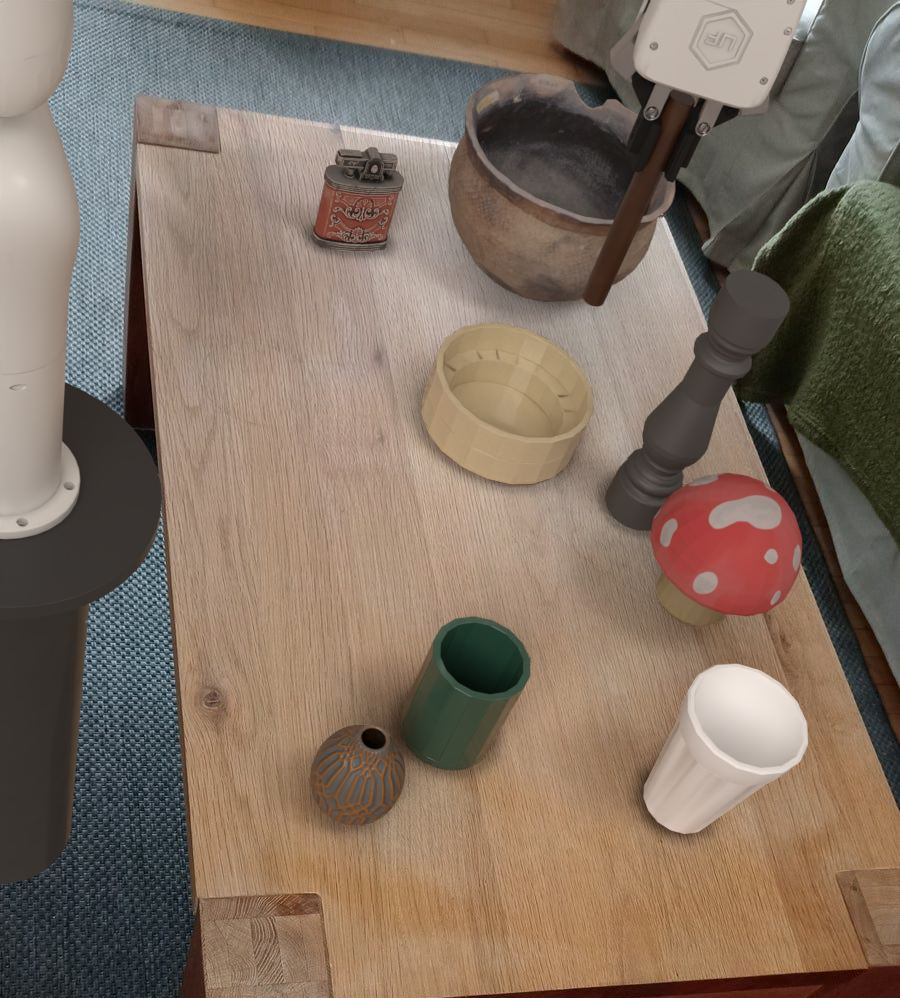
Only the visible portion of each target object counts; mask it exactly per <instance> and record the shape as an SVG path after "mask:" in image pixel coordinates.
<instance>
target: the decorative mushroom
mask: <svg viewBox="0 0 900 998" xmlns="http://www.w3.org/2000/svg"><path fill="white" fill-rule="evenodd" d="M789 505H790V504H788V502H787V501H786V499H785V497H783V496H782V495H781V494H780V493H778V491H776V489H775V488H773V487H772V486H770V485H769V484H767V483H765V482H763V481H762V480H759V479H757V478H754V477H752V476H749V475H746V474H740V473H732V472H722V473H721V472H720V473H715V474H707V475H703V476H700V477H698V478H695V479H693V480H692V481H690V482H688V483H686V484H685V485H682V487H681V488H680V489H678V490H676V491H675V492H674V493H673V494H671V495H670V496H669V497H668V498H667V500H666V501H665V502H664V504H663V505H662V506H661V508H660V509H659V511H658V512H657V514H656V515H655V517H654V518H653V522H652V529H651V530H650V535H649V539H650V543H651V547H652V548H651V549H652V551H653V556H654V559H655V561H656V562H657V564H658V565H659V567H660V569H661V571H662V573H661V574H660V576H659V577H658V579H657V582H656V594H657V598H658V599H659V601H660V603H661V604H662V606H663V607H664V609H665V610H666V611H667V613H668V614H670V615H671V616H672V618H674V619H676V620H677V621H678V622H680V623H683V624H686V625H688V626H696V627H697V626H698V627H707V626H712V625H716V624H717V623H719V622H721V621H722V620H724V618H725V617H726V615H729V616H738V617H739V616H740V617H751V616H755V615H760V614H761V615H762V614H766V613H769V611H771V610H773V609H774V608H776V607H777V606H778V605H780V604H781V603H782V602H783V603H784V601H785V599H786V598H787V596H788V594H789V593H790V591H791V589H792V588H793V586H794V585H795V582H796V580H797V579H798V576H799V573H800V571H801V567H802V566H801V565H802V557H803V556H802V555H803V536H802V533H801V530H800V527H799V523H798V520H797V517H796V515H795V512H794V511H793V510H792V508H791V506H789Z"/></svg>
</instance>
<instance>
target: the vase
mask: <svg viewBox="0 0 900 998" xmlns="http://www.w3.org/2000/svg"><path fill="white" fill-rule="evenodd" d="M405 782H406V763H405V758H404V755H403V752H402V750H401V747H400V746H399V745H398V743H397V742H396V741H395V740H394V738H393V737H392V736H391V735H390V734H389V733H388V731H387V730H386V729H385V728H384V727H382V726H380V725H379V724H376V723H368V724H353V725H347V726H344V727H343V728H340V729H338V730H336V731H335V732H334V733H332V734H331V735H330V736H328V738H326V739H325V740H324V741H323V742H322V744H321V745H320V746H319V748H318V749H317V751H316V754H315V755H314V758H313V761H312V764H311V768H310V774H309V783H310V784H309V785H310V790H311V794H312V797H313V799H314V801H315V803H316V805H317V807H318V808H319V809H320V811H322V812H323V814H325V815H326V816H327V817H328V818H330V819H331V820H332V821H335V822H337V823H339V824H342V825H346V826H354V827H357V826H364V825H365V826H366V825H369V824H372V823H374V822H377V821H378V820H380V819H382V818H383V817H384V816H385V815H387V813H389V812H390V811H391V810H392V809H393V807H395V805H396V803H397V801H398V800H399V798H400V797H401V794H402V791H403V789H404V786H405Z"/></svg>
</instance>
